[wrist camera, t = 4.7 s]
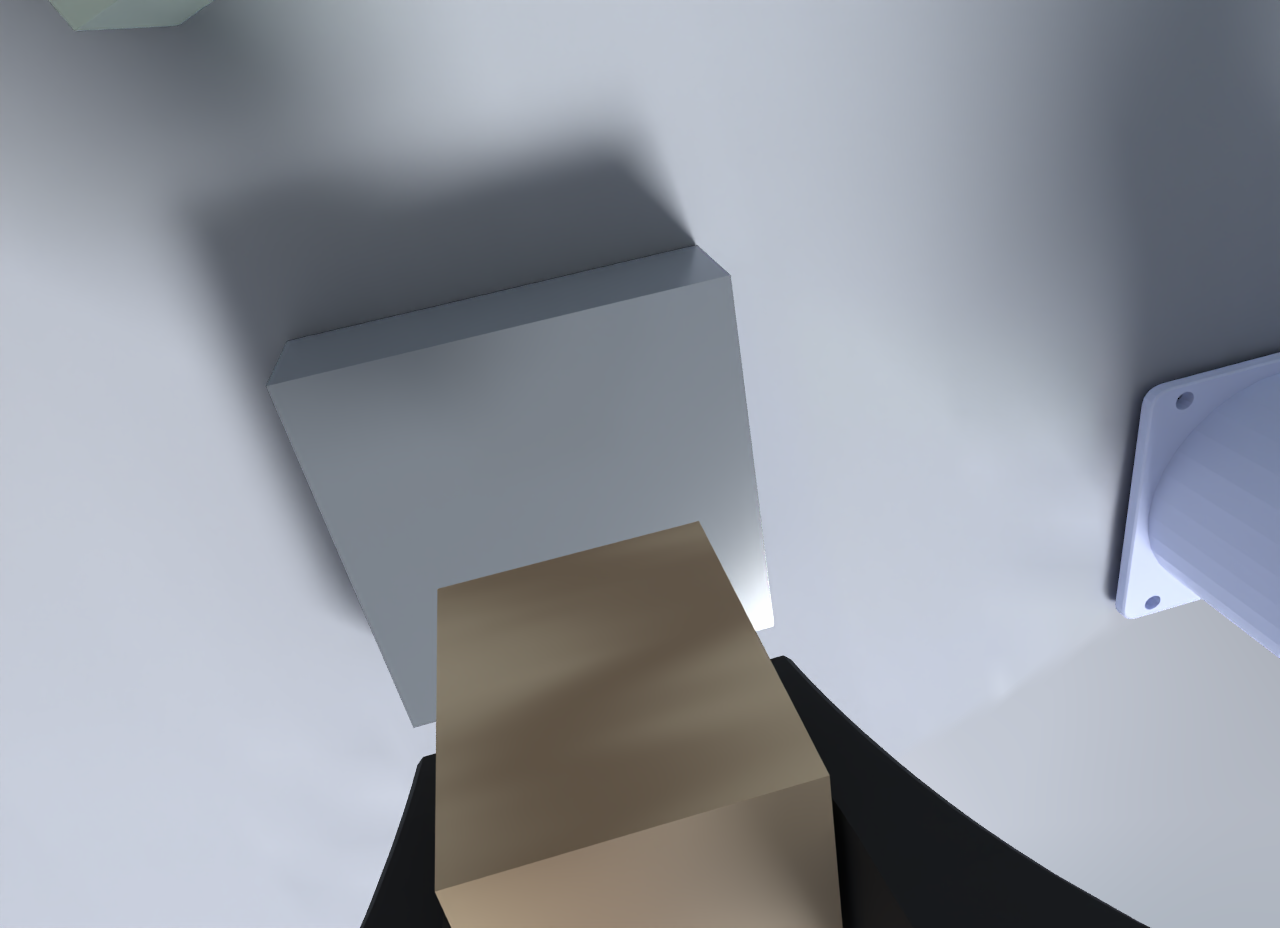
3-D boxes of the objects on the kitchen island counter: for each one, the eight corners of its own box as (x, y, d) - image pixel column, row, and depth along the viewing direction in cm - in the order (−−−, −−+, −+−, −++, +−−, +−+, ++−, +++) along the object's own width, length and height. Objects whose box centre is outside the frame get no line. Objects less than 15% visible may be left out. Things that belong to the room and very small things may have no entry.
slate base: (696, 245, 19) (730, 275, 17) (743, 569, 23) (774, 626, 21) (286, 341, 18) (265, 386, 16) (416, 658, 22) (413, 727, 20)
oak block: (698, 520, 13) (829, 775, 9) (729, 710, 15) (848, 997, 10) (437, 588, 12) (434, 891, 8) (503, 774, 14) (530, 1100, 10)
